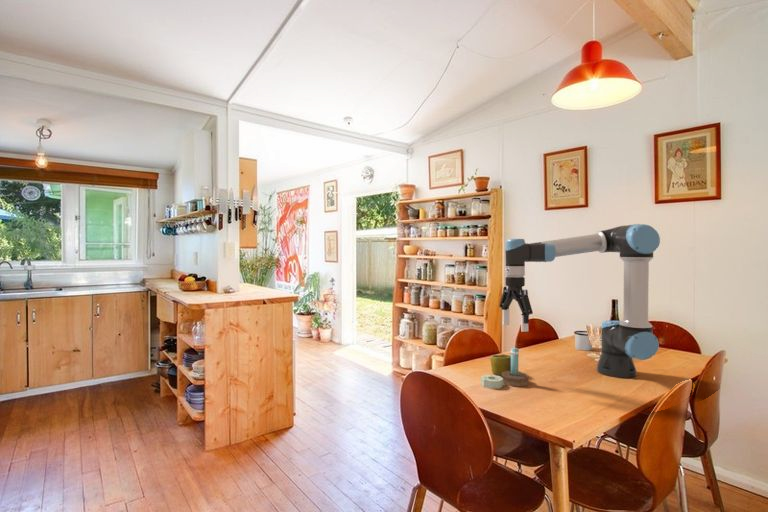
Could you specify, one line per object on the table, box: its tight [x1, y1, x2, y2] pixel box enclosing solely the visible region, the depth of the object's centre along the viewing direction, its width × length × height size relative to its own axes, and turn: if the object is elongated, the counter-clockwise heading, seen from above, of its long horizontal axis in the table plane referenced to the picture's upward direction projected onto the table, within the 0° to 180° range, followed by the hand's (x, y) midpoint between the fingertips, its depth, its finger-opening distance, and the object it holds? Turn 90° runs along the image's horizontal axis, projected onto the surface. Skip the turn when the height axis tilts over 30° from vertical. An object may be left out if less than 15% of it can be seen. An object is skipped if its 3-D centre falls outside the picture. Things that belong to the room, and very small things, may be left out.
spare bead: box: [480, 374, 504, 390], centre depth 163 cm, size 8×8×3 cm
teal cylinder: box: [510, 347, 520, 376], centre depth 166 cm, size 3×3×14 cm
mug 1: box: [490, 353, 511, 377], centre depth 179 cm, size 12×10×10 cm
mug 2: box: [573, 330, 593, 352], centre depth 221 cm, size 12×10×9 cm
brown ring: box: [501, 370, 529, 388], centre depth 166 cm, size 10×10×3 cm
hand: (515, 328), depth 166 cm, fingers open, 13 cm apart
